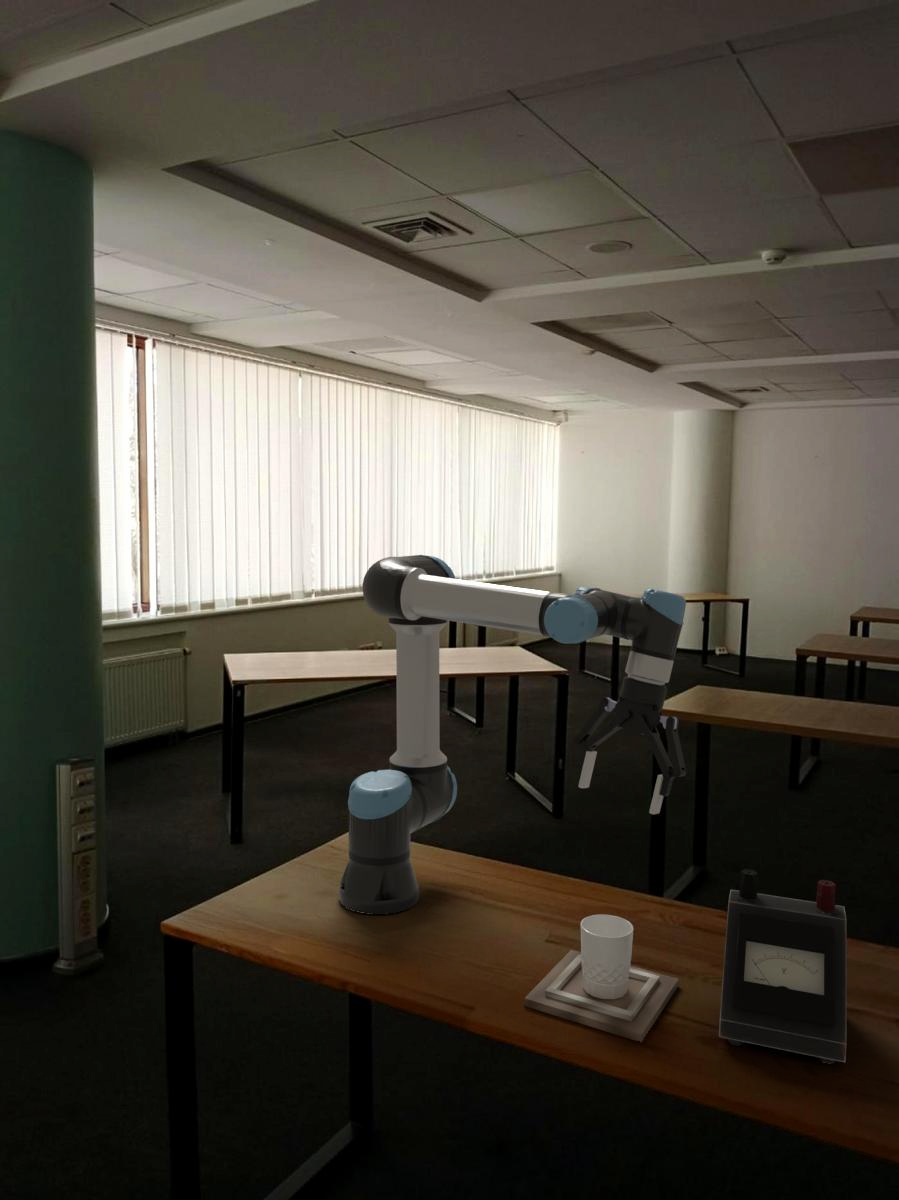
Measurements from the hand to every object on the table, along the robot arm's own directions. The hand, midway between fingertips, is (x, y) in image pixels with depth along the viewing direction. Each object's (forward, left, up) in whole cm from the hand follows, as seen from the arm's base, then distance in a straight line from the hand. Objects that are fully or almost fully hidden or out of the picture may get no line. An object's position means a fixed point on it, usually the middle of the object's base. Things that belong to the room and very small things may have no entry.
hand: (617, 800), depth 156 cm
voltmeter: (+31, -15, -25) cm, 42 cm away
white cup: (+6, -20, -23) cm, 31 cm away
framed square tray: (+6, -20, -24) cm, 32 cm away
